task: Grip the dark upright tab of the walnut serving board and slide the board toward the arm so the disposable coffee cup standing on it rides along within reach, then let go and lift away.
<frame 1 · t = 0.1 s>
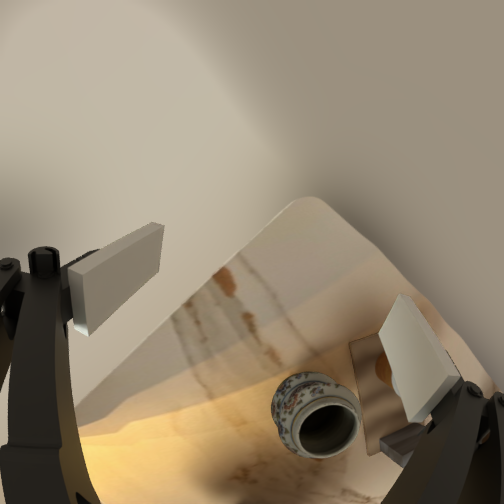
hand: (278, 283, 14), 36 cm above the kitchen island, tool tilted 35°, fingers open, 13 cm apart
apothecary jar: (301, 397, 45), on the kitchen island
disposable coffee cup: (386, 364, 46), resting on walnut board
walnut board: (404, 396, 39), point 6 cm above the kitchen island, slide at 2.3 cm, touching disposable coffee cup
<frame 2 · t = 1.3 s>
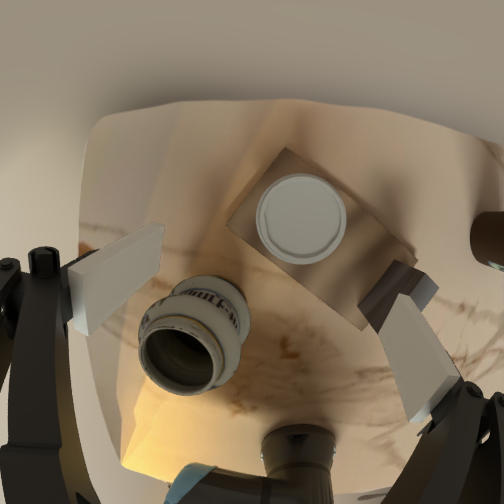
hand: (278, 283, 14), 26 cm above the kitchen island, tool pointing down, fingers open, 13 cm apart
apothecary jar: (216, 305, 42), on the kitchen island
olive oil: (485, 238, 35), on the kitchen island
disposable coffee cup: (294, 216, 39), resting on walnut board
walnut board: (334, 246, 33), point 6 cm above the kitchen island, slide at 4.2 cm, touching disposable coffee cup
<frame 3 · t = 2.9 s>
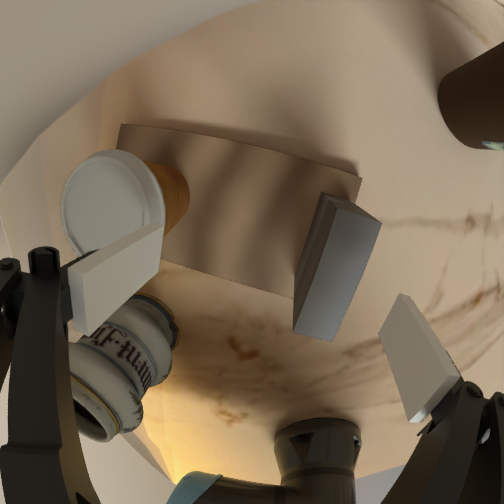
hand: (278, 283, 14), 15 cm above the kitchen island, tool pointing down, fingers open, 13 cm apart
apothecary jar: (147, 323, 35), on the kitchen island
olive oil: (467, 110, 20), on the kitchen island
disposable coffee cup: (166, 194, 29), resting on walnut board
walnut board: (200, 218, 23), point 6 cm above the kitchen island, slide at 3.9 cm, touching disposable coffee cup
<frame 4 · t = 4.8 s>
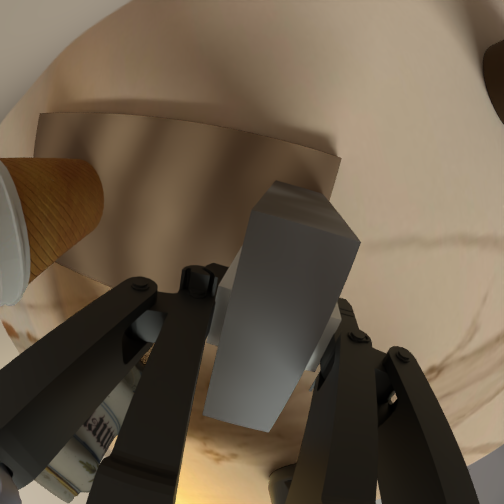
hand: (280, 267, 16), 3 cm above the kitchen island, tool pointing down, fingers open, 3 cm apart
apothecary jar: (113, 358, 26), on the kitchen island
disposable coffee cup: (85, 194, 20), resting on walnut board
walnut board: (94, 227, 14), point 6 cm above the kitchen island, slide at 0.0 cm, touching disposable coffee cup, gripper
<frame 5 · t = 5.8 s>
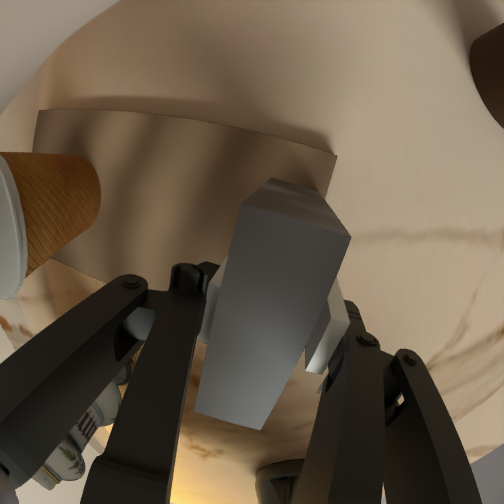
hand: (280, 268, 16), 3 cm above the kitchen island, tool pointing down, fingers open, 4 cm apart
apothecary jar: (100, 350, 26), on the kitchen island
disposable coffee cup: (83, 191, 20), resting on walnut board
walnut board: (90, 223, 14), point 6 cm above the kitchen island, slide at 1.4 cm, touching disposable coffee cup, gripper
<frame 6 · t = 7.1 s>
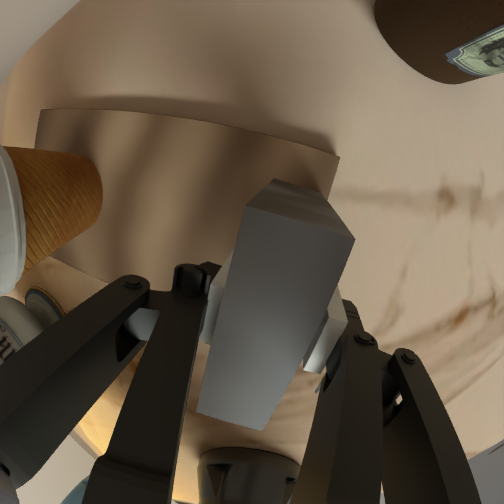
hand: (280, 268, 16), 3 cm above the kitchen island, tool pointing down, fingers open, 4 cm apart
apothecary jar: (50, 320, 27), on the kitchen island
olive oil: (428, 33, 12), on the kitchen island
disposable coffee cup: (84, 191, 20), resting on walnut board
walnut board: (92, 223, 14), point 6 cm above the kitchen island, slide at 10.3 cm, touching disposable coffee cup, gripper
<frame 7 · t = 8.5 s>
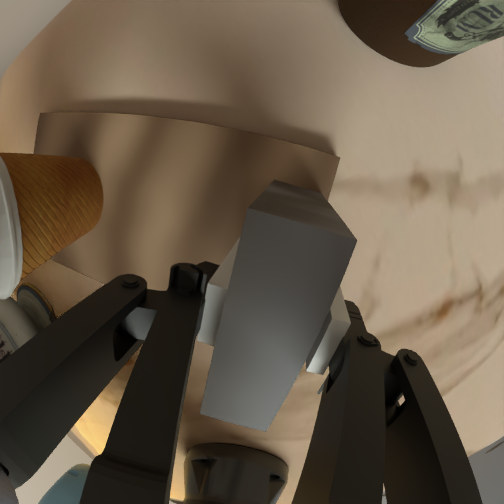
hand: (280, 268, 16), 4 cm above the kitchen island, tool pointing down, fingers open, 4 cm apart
apothecary jar: (40, 315, 27), on the kitchen island
olive oil: (397, 18, 12), on the kitchen island
disposable coffee cup: (85, 194, 20), resting on walnut board
walnut board: (93, 226, 14), point 6 cm above the kitchen island, slide at 12.6 cm, touching disposable coffee cup
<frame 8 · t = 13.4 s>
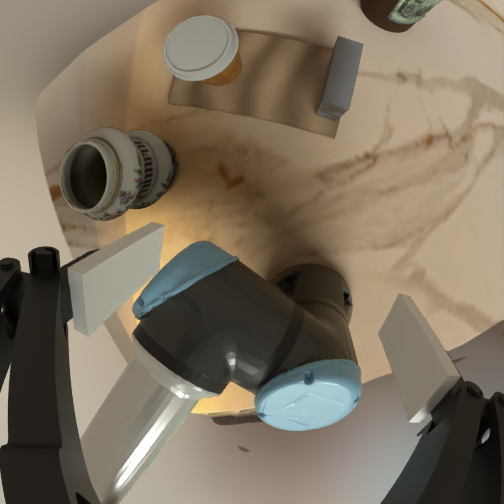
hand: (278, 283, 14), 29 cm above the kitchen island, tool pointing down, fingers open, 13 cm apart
apothecary jar: (153, 167, 42), on the kitchen island
olive oil: (386, 12, 27), on the kitchen island
disposable coffee cup: (223, 69, 35), resting on walnut board
walnut board: (254, 63, 30), point 6 cm above the kitchen island, slide at 10.8 cm, touching disposable coffee cup
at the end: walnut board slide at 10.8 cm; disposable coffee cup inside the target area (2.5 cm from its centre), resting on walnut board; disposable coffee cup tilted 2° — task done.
